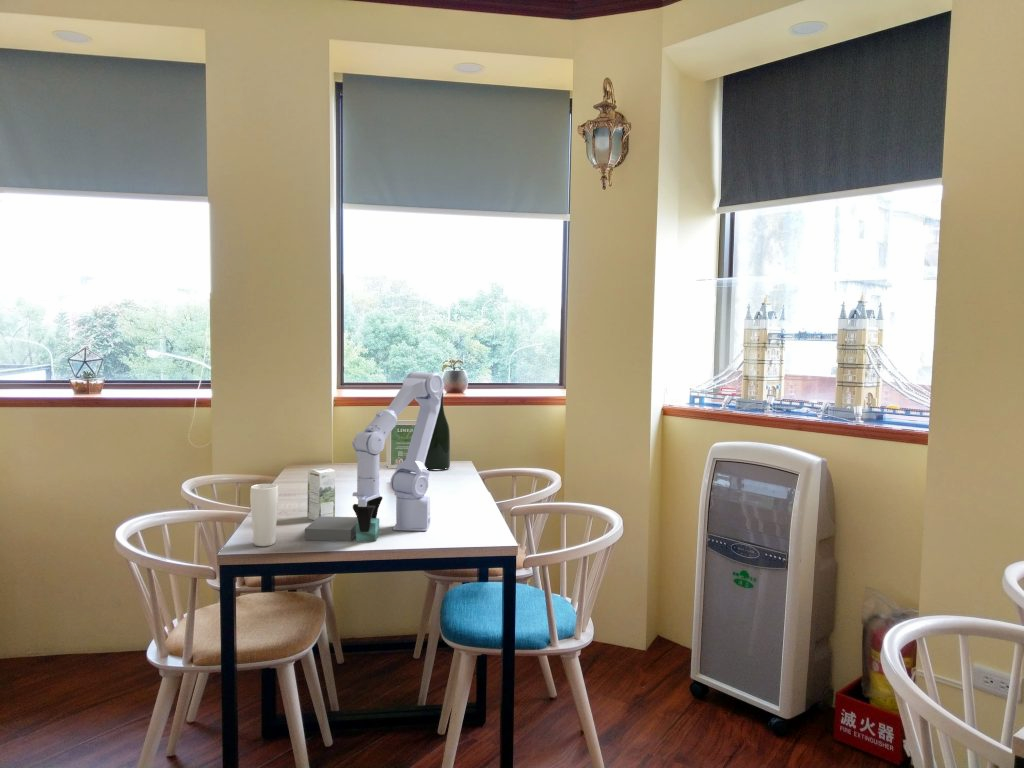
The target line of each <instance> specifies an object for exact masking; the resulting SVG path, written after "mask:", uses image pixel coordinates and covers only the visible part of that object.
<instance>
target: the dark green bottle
mask: <svg viewBox="0 0 1024 768" xmlns="http://www.w3.org/2000/svg"><path fill="white" fill-rule="evenodd" d="M446 416H447V415H446V414H445V408H444V392H443V393H442V397H441V405H440V409H439V413H438V417H437V420H436V424H435V427H434V431H433V435H432V438H431V442H430V445H429V449H428V452H427V456H426V460H425V463H424V465H425V467H426V468H428V469H445V468H449V467H450V468H451V434H450V433H451V431H450V425H449V423H448V419H447V417H446ZM450 468H449V469H450Z"/></svg>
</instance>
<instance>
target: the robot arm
mask: <svg viewBox="0 0 1024 768" xmlns="http://www.w3.org/2000/svg"><path fill="white" fill-rule="evenodd" d="M444 389H445V382H444V380H443V378H442V376H441V375H440V373H438V372H423V371H422V372H421V371H409V372H408V373H407V374H406V377H405V378H404V379H403V380H402V387H401V388H400V389H399V391H398V392H397V394H396V395H395V397H394V398H393V399H392V401H391V403H390V404H389V406H388V407H387V409H381V410H380V411H376V413H375V417H374V418H373V419H372V421H371V422H370V423H368V425H367V426H365V429H364V430H361V431H359V432H358V433H357V434H356V435H355V436H354V438H353V439H354V440H353V441H352V447H353V450H354V451H355V457H356V459H357V461H356V462H357V465H356V475H357V476H356V479H357V480H356V481H357V483H356V491H354V492H353V493H352V495H351V496H352V497H356V498H357V503H354V504H353V505H352V510H353V511H354V514H355V517H357V519H358V523H359V528H360V532H369V529H370V523H371V518H378V517H377V515H378V510H379V508H380V505H381V503H382V500H383V496H381V493H380V453H381V452H382V451H384V448H385V444H386V441H387V437H388V436H389V435H390V434H391V432H392V431H393V430H394V428H395V427H396V426H397V424H398V416H400V415H401V413H402V412H403V411H404V410H405V409H406V408H407V407H408V405H409V404H411V402H412V401H414V400H415V402H417V403H418V405H419V411H418V414H417V417H416V420H415V424H414V428H413V432H412V435H411V439H410V443H409V446H408V449H407V453H406V456H405V459H404V460H403V461H401V462H400V463H398V465H396V469H395V471H394V473H393V474H392V476H391V478H390V483H389V484H390V488H391V490H392V491H393V492H394V496H395V497H396V499H395V500H396V501H395V502H396V504H395V505H396V510H395V511H396V512H395V513H396V514H395V524H394V526H393V528H392V530H393V531H409V532H410V531H411V532H412V531H413V532H414V531H417V532H419V531H420V532H422V531H423V532H427V530H428V529H429V527H430V525H431V498H430V496H425V494H426V493H427V491H428V488H429V476H430V470H427V468H426V467H425V465H424V463H425V460H426V456H427V452H428V449H429V445H430V442H431V438H432V435H433V431H434V427H435V424H436V420H437V417H438V413H439V409H440V405H441V397H442V393H443V394H444Z"/></svg>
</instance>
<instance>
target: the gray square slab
mask: <svg viewBox="0 0 1024 768" xmlns="http://www.w3.org/2000/svg"><path fill="white" fill-rule="evenodd" d="M357 522H358V519H357V516H335V517H323V516H319V517H318V518H317V519H316V520H312V521H311V523H310V524H309V525H308V526H306V527H305V528H304V540H305V541H330V542H331V541H333V542H336V541H340V542H343V541H344V542H351V541H352V540H353V539H354V537H355V538H356V523H357Z"/></svg>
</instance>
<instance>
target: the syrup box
mask: <svg viewBox="0 0 1024 768" xmlns="http://www.w3.org/2000/svg"><path fill="white" fill-rule="evenodd" d="M335 510H336V470H334V469H332V468H330V467H329V468H328V467H321V468H314V469H309V470H307V519H309V520H312V521H314V520H316V519H317V518H318V517H319V516H323V517H336V514H335V513H336V511H335Z"/></svg>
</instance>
